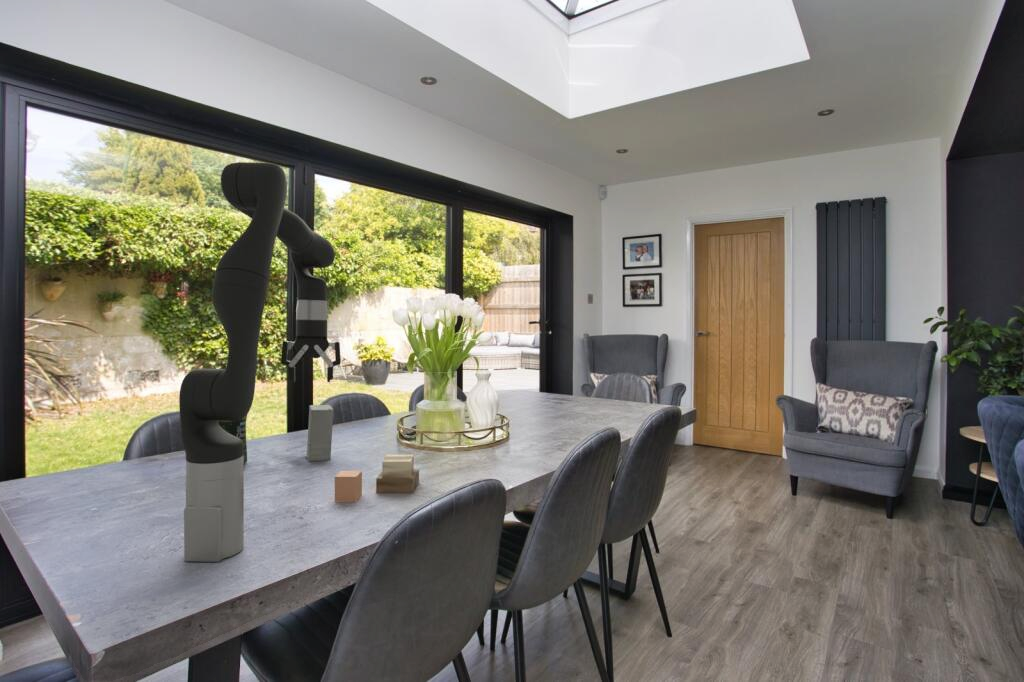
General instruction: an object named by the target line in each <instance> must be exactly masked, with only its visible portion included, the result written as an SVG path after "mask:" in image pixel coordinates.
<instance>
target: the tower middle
mask: <svg viewBox="0 0 1024 682" xmlns="http://www.w3.org/2000/svg"><path fill="white" fill-rule="evenodd" d="M381 465H382V467H381V472H382V478H403V477H411V476H412V473H413V471H414V469H415V468H414V467H415V456H414V454H386V455H385V457H384V458H383V460H382V462H381Z"/></svg>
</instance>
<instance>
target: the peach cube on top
mask: <svg viewBox="0 0 1024 682" xmlns="http://www.w3.org/2000/svg"><path fill="white" fill-rule="evenodd" d="M362 496H363V471H362V470H340V471H339V472H338V473H337V474H336V475H334V503H357V501H359V499H360V498H361V497H362Z"/></svg>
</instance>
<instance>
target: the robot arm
mask: <svg viewBox="0 0 1024 682" xmlns="http://www.w3.org/2000/svg"><path fill="white" fill-rule="evenodd" d="M220 187H221V191H222V194H223V196H224V198H225V199H226V201H227V202H228V203H229V204H230V205H231V207H234V209H235V210H238V211H239V212H240V213H242V214H244V215H246V216H247V217H249V218H250V219H251V220H250V222H249V224H248V226H246V229H245V230H244V231H243V232H242V234H241V235H240V236H239V237H237V239H236V240H235V241H234V242H233V243H232V244H231V245H230V247H229V248H228V249H227V250H226V251H225V252H224V253H223V255H222V256H221V258H220V259H219V260H218V262H217V265H216V269H215V274H214V278H213V285H212V288H211V289H212V290H211V302H212V305H213V308H214V310H215V313H216V315H217V317H218V319H219V322H220V323H221V325H222V328H223V329H224V332H225V335H226V338H227V342H228V350H227V351H228V353H227V354H228V355H227V362H226V366H225V368H196V369H192V370H190V371H189V372H188V373H186V375H185V376H184V378H183V379H182V382H181V385H180V390H179V398H178V401H179V402H178V405H179V418H180V433H181V434H180V435H181V436H180V437H181V445H182V447H183V449H184V452H185V507H184V509H183V533H184V534H183V540H184V541H183V543H184V544H183V546H184V547H183V548H184V549H183V550H184V551H183V552H184V553H183V555H184V557H183V561H184V562H207V563H208V562H212V563H215V562H217V563H218V562H221V561H222V560H224V559H227V558H229V557H232V556H235V555H237V554H238V553H240V552H242V551H243V549H244V545H245V542H244V541H245V539H244V538H245V537H244V536H245V535H244V533H245V531H244V530H245V528H244V527H245V525H244V524H245V523H244V522H245V521H244V520H245V518H244V517H245V516H244V515H245V513H244V511H245V510H244V509H245V508H244V507H245V505H244V504H245V502H244V500H245V499H244V494H245V492H244V491H245V490H244V486H245V485H244V484H245V481H244V480H245V479H244V475H245V474H244V473H245V469H244V468H245V466H244V465H245V464H244V445H243V441H242V440H241V439H240V438H238V437H236V436H233V435H231V434H229V433H228V432H226V431H225V430H224V429H222V428H221V427H220V425H219V423H218V420H220V421H237V420H241V419H243V418H244V417H245V416H246V415H247V416H248V414H249V412H250V410H251V408H252V404H253V401H254V397H255V389H256V378H257V366H258V365H257V363H258V350H259V340H260V333H261V326H262V320H263V314H264V309H265V305H266V300H267V294H268V289H269V283H270V282H269V281H270V274H271V266H272V261H273V253H274V247H275V242H276V238H277V239H278V240H279V241H280V242H281V243H282V244H283V245H284V246H285V247H286V248H287V249H288V250H289V255H290V260H291V263H292V267H293V270H294V275H295V278H296V284H297V293H296V294H297V302H296V309H295V312H296V313H295V314H296V315H295V317H296V318H295V340H294V341H287V340H284V341H282V343H281V344H282V347H281V355H280V356H281V359H280V363H281V365H282V366H286V367H288V380H289V381H291V383H295V382H296V367H295V365H296V364H297V363H298V362H299V360H300V359H301V358H304V359H311V358H313V359H319V358H321V359H322V360H323V361H324V362H325V364H326V365H327V366H328V367H327V368H326V369H327V370H326V371H327V378H326V380H327V381H326V382H327V383H330V382H331V380H333V379H334V367H336V366H339V365H341V363H342V362H341V344H340V342H339V341H333V342H329V340H328V319H329V317H328V313H329V312H328V303H327V300H328V297H327V295H328V294H327V292H328V285H327V280H326V279H324V278H321V277H318V276H313V275H312V274H311V273H310V270H309V269H324V268H329V267H331V266H332V264H333V263H334V261H335V257H336V252H335V249H334V247H333V245H332V243H331V242H330V241H329V240H328V239H326V237H324V236H322V235H320V233H317V232H315V231H314V230H312V228H310V227H309V226H308V224H307V223H306V221H305V220H304V219H303V218H301V217H300V216H299V215H298V214H296V213H295V212H293V211H291V210H289V209H288V208H285V206H286V205H285V204H286V202H287V201H286V200H287V195H288V180H287V175H286V172H285V171H284V169H283V168H282V167H281V166H280V165H278V164H277V163H273V162H253V161H252V162H246V161H244V162H242V161H241V162H238V161H237V162H231V163H229V164H227V165H226V166H225V167H224V168H223V170H222V171H221V176H220ZM293 346H294V348H295V350H296V351H297V353H296V354H295V356H294V357H293V358H292V359H291V360H288V357H289V356H288V355H289V351H290V350H291V349H292V347H293ZM329 347H331V350H332V351H334V352H335V353H334V355H335V356H334V357H335V360H333V361H332V359H330V357H329V356H328V354H327V353H326V351H327V350H328V349H329Z"/></svg>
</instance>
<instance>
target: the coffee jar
mask: <svg viewBox="0 0 1024 682" xmlns="http://www.w3.org/2000/svg"><path fill="white" fill-rule="evenodd" d="M247 418H248V414H247V415H246V416H245V417H244V418H243V419H241V420H237V421H220V420H218V423H219V425H220V427H221V428H222V429H224V430H225V431H226V432H228V433H229V434H231V435H233V436H236V437H238V438H240V439H241V440H242V441H243V445H244V465H245V464H247V462H248V448H247V427H246V426H247Z"/></svg>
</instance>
